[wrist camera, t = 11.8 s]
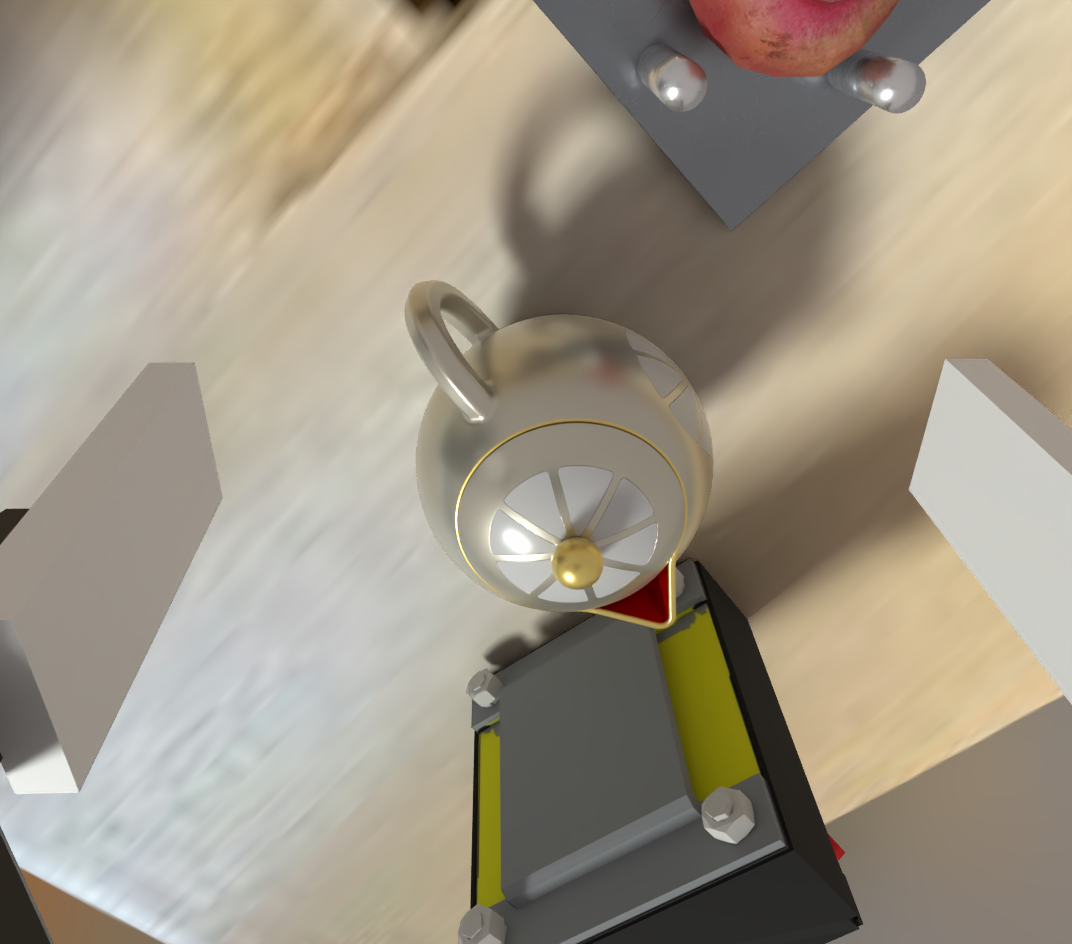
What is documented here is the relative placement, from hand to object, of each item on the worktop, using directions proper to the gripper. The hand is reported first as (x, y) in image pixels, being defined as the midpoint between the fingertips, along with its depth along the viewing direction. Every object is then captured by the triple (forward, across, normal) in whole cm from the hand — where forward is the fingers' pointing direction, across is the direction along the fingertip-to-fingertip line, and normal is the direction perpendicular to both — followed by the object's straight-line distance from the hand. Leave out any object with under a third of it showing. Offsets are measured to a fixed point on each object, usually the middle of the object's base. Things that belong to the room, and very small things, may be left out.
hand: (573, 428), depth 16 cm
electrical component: (+29, +6, -32) cm, 44 cm away
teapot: (+29, +1, -12) cm, 31 cm away
